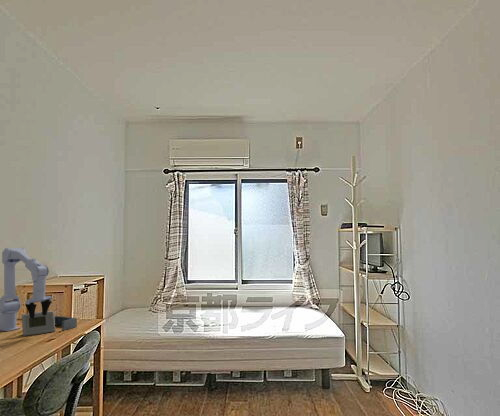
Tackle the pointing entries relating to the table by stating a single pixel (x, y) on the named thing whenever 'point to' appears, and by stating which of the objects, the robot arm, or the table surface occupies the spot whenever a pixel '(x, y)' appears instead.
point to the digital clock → (38, 323)
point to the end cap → (66, 322)
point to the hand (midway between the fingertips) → (38, 316)
